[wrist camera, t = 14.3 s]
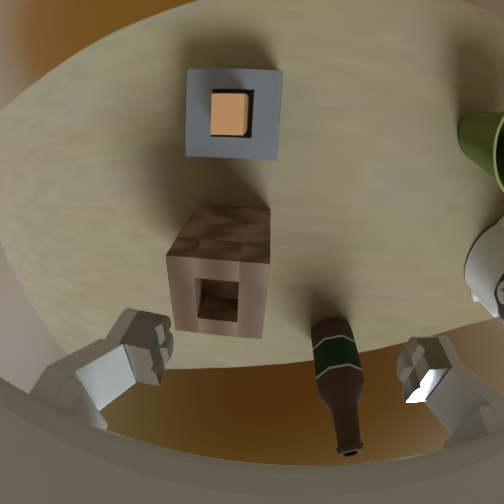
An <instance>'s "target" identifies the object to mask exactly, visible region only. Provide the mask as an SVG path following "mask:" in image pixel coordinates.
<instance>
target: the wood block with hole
mask: <svg viewBox="0 0 504 504" xmlns="http://www.w3.org/2000/svg"><path fill="white" fill-rule="evenodd" d="M270 211H271V210H264V209H251V208H237V207H222V206H205V205H198V206H197V207H196V209H195V211H194V212H193V214H192V215H191V217H190V218H189V220H188V221H187V223H186V224H185V226H184V227H183V229H182V230H181V232H180V234H179V235H178V237H177V238H176V240H175V241H174V243H173V245H172V246H171V248H170V249H169V251H168V253H167V254H166V262H167V271H168V279H169V287H170V295H171V302H172V309H173V316H174V323H175V329H176V330H182V331H189V332H197V333H206V334H214V335H224V336H234V337H245V338H257V339H262V331H263V322H264V313H265V305H266V296H267V286H268V277H269V268H270Z"/></svg>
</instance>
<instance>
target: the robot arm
mask: <svg viewBox="0 0 504 504" xmlns="http://www.w3.org/2000/svg"><path fill="white" fill-rule="evenodd" d="M465 280H466V283H467V285H468V286H469V288H470V290H471V299H472V300H473V301H475V302H476V301H480V302H481V303H482V304H483V305H484V306H485V307H486V308H487V310H488V311H489V312H490V313H491V314H492V315H493V316H494V317H496V316H499V317H500V318H501V319H502V322H503V323H504V215H503V216H502V217H501V219H500V220H499V221H498V223H497V224H495V225H494V226H492V227H491V228H489V229H488V230H487V231H485V232H484V233H483V234H482V235H481V236H480V238H479V239H478V240H477V241H476V243H475V244H474V246H473V248H472V250H471V251H470V254H469V256H468V259H467V262H466V266H465ZM170 327H171V322H170V317H168V316H165V315H160V314H155V313H151V312H146V311H139V310H135V309H131V308H127V309H125V310H124V311H123V312H122V314H121V315H120V317H119V318H118V320H117V321H116V323H115V324H114V326H113V327H112V329H111V330H110V332H109V334H108V335H107V337H106V338H105V339H99V340H97V341H95V342H94V343H92V344H90V345H88V346H86V347H84V348H82V349H80V350H78V351H76V352H74V353H72V354H70V355H68V356H66V357H65V358H63V359H61V360H59V361H57V362H55V363H53V364H51V365H49V366H47V367H46V369H45V370H44V371H43V373H42V374H41V376H40V378H39V379H38V381H37V382H36V384H35V385H34V387H33V388H32V390H31V391H30V393H29V394H28V393H26V392H24V391H22V390H21V389H19V388H17V387H15V386H14V385H12V384H10V383H9V382H7V381H6V380H4V379H3V378H1V377H0V504H504V397H503V396H502V395H500V394H499V393H498V392H497V391H496V390H494V389H493V388H492V387H491V386H489V385H488V384H487V383H486V382H485V381H483V380H482V379H481V378H480V377H478V376H477V375H476V374H475V373H473V372H472V371H471V370H470V369H468V368H467V367H463V365H462V363H461V361H460V359H459V357H458V355H457V353H456V351H455V349H454V347H453V345H452V343H451V342H450V340H449V338H448V337H447V336H424V337H411V338H410V339H409V340H408V342H407V344H406V346H407V350H405V351H404V352H403V353H401V355H400V357H399V359H398V363H397V374H398V378H399V379H400V380H401V381H402V382H403V383H404V384H403V386H402V391H403V395H404V398H405V402H406V403H409V402H420V401H425V403H426V405H427V406H428V407H429V408H430V409H431V410H432V412H433V413H434V414H435V415H436V416H437V417H438V419H439V420H440V421H441V422H442V423H443V424H444V426H445V427H446V428H447V429H448V430H449V432H450V433H451V434H452V435H451V436H450V437H449V438H448V439H447V440H445V441H444V443H443V449H441V450H437V451H433V452H429V453H424V454H420V455H415V456H410V457H404V458H398V459H392V460H385V461H377V462H369V463H359V464H347V465H327V466H288V465H269V464H256V463H246V462H237V461H229V460H222V459H216V458H210V457H204V456H198V455H194V454H188V453H184V452H179V451H175V450H171V449H167V448H163V447H158V446H155V445H151V444H148V443H144V442H141V441H138V440H134V439H131V438H128V437H125V436H122V435H119V434H116V433H113V432H111V431H108V430H106V428H107V426H108V425H107V423H106V421H105V419H104V418H103V416H102V415H101V413H100V412H99V410H101V409H102V408H103V407H105V406H106V405H107V404H109V403H110V402H111V401H113V400H114V399H115V398H116V397H118V396H119V395H120V394H122V393H123V392H124V391H126V390H127V389H128V388H129V387H130V386H132V385H133V384H135V383H136V381H139V382H143V383H148V384H152V385H157V386H160V384H161V381H162V378H163V376H164V373H165V367H164V364H166V363H167V362H169V361H170V358H171V355H172V351H173V335H172V334H171V332H170V331H169V329H170Z"/></svg>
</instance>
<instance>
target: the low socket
mask: <svg viewBox="0 0 504 504" xmlns="http://www.w3.org/2000/svg"><path fill="white" fill-rule="evenodd" d="M282 80H283V71H276V70H261V69H235V68H211V69H187V90H186V128H185V157H218V158H239V159H255V160H269V161H276V158H277V146H278V134H279V121H280V108H281V94H282ZM214 93H231V94H246V95H248V96H250V117H249V129H248V130H247V131H246V132H245V133H244V135H211V100H212V94H214Z"/></svg>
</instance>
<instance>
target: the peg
mask: <svg viewBox="0 0 504 504" xmlns="http://www.w3.org/2000/svg"><path fill="white" fill-rule="evenodd" d="M249 117H250V96H248V95H246V94H231V93H214V94H212V100H211V135H244V133H245V132H246V131H247V130H248V129H249Z"/></svg>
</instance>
